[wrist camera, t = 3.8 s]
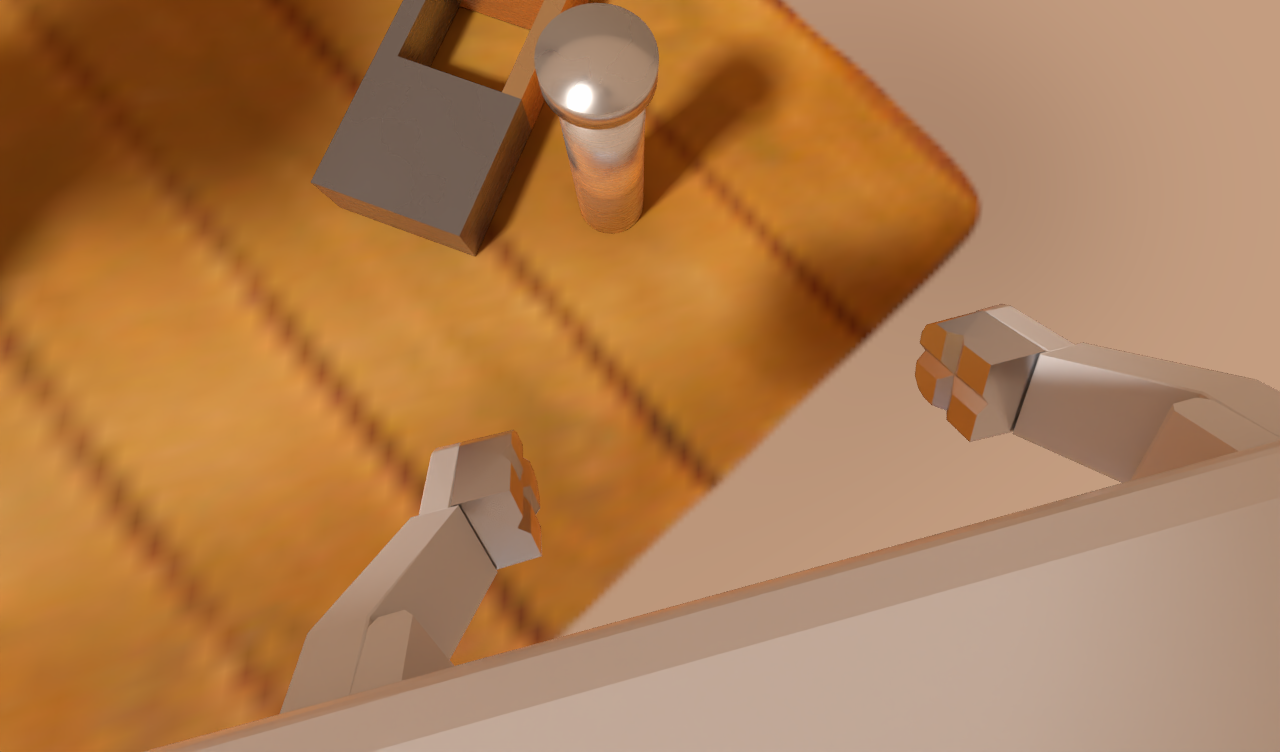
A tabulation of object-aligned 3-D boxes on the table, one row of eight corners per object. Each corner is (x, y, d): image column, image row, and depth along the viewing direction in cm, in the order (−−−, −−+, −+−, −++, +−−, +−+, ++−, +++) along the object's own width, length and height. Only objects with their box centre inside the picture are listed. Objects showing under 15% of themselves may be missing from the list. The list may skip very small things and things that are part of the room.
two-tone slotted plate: (475, 256, 26) (459, 236, 24) (339, 207, 26) (310, 182, 24) (619, -67, 29) (617, -113, 27) (495, -107, 29) (483, -157, 27)
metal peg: (634, 252, 26) (632, 130, 17) (559, 225, 26) (515, 89, 17) (662, 182, 27) (676, 25, 17) (589, 156, 27) (561, -13, 17)
